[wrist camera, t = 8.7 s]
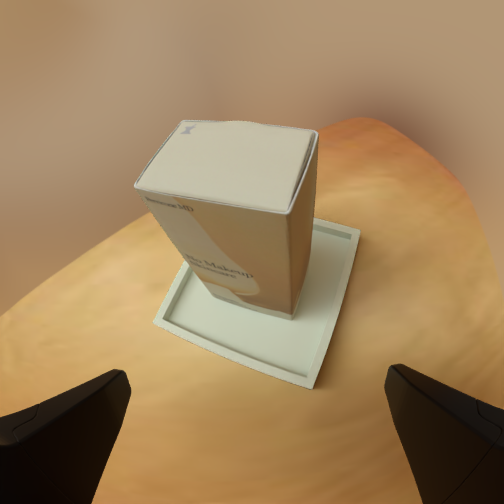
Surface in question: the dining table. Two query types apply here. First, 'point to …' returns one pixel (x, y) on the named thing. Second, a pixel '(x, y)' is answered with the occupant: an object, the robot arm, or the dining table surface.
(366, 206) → the dining table surface
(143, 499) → the dining table surface
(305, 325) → the sage dish
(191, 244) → the skincare box
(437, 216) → the dining table surface
